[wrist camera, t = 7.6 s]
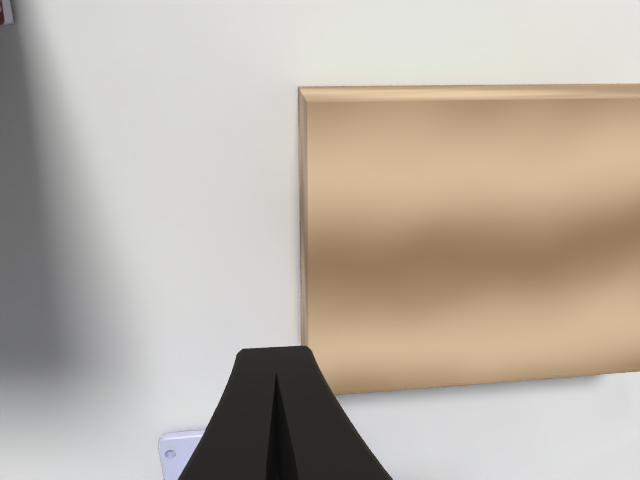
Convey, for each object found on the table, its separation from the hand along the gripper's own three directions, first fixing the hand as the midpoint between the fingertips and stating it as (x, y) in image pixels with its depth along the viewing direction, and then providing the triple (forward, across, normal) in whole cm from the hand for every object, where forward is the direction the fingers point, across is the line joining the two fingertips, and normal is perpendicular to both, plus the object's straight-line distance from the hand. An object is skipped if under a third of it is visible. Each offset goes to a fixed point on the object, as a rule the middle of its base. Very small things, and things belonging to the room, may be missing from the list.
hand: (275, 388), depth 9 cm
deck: (+10, -9, +1) cm, 14 cm away
